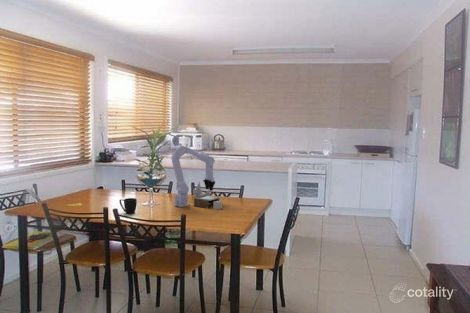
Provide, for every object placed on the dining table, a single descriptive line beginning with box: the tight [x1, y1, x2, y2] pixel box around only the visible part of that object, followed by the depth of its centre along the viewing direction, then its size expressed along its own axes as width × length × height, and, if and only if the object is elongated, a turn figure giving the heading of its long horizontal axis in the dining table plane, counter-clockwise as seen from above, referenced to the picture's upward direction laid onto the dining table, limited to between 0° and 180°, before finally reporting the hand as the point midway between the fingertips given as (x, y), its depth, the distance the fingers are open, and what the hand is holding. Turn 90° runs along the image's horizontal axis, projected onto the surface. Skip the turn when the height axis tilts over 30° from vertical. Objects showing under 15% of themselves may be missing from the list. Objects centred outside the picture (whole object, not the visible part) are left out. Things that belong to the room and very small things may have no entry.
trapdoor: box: [196, 194, 220, 201], centre depth 300 cm, size 12×12×2 cm
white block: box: [212, 200, 223, 210], centre depth 290 cm, size 4×4×5 cm
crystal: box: [192, 181, 210, 199], centre depth 319 cm, size 10×13×15 cm
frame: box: [193, 197, 220, 209], centre depth 300 cm, size 15×12×6 cm
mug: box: [118, 197, 138, 215], centre depth 272 cm, size 8×12×10 cm
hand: (209, 189), depth 309 cm, fingers open, 7 cm apart
